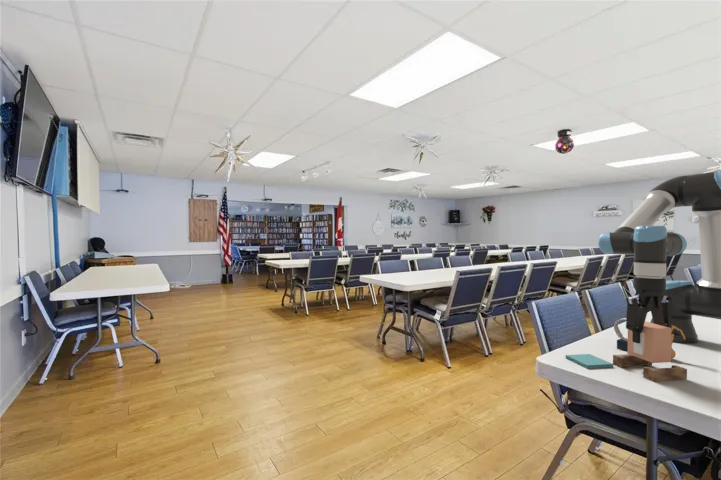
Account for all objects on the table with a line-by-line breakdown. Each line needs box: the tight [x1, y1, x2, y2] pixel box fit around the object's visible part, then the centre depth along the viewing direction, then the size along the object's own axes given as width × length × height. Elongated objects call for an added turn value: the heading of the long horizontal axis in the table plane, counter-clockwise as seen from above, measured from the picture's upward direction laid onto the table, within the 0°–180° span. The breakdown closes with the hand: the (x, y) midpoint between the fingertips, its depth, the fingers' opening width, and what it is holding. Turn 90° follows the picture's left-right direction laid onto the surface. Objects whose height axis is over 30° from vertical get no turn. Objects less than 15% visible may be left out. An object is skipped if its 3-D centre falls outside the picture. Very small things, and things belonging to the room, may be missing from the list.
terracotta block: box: [627, 320, 672, 364], centre depth 102 cm, size 6×8×10 cm
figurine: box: [666, 324, 685, 360], centre depth 114 cm, size 8×6×12 cm
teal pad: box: [565, 353, 614, 369], centre depth 110 cm, size 9×9×1 cm
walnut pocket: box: [612, 353, 688, 383], centre depth 102 cm, size 11×13×3 cm
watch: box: [613, 317, 628, 352], centre depth 123 cm, size 6×8×11 cm
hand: (648, 352), depth 102 cm, fingers closed on terracotta block, 6 cm apart
